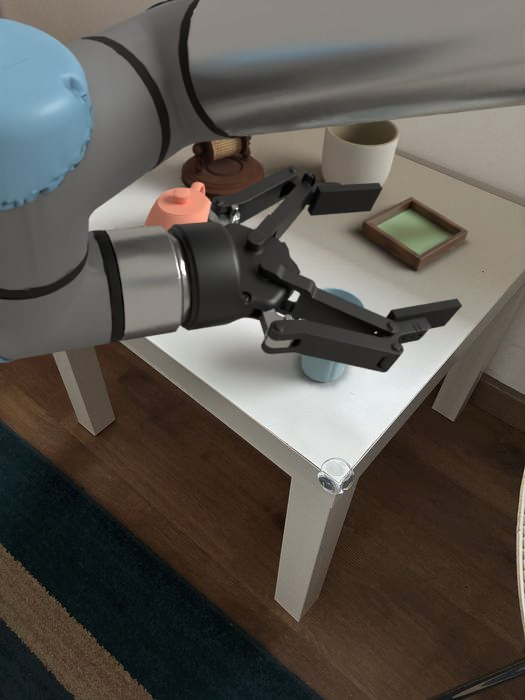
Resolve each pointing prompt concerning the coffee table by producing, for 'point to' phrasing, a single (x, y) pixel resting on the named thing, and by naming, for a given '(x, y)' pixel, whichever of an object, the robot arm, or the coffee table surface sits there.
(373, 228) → the wooden serving tray
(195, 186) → the sugar bowl
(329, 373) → the cup
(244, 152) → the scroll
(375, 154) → the planter
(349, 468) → the coffee table surface
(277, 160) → the coffee table surface
